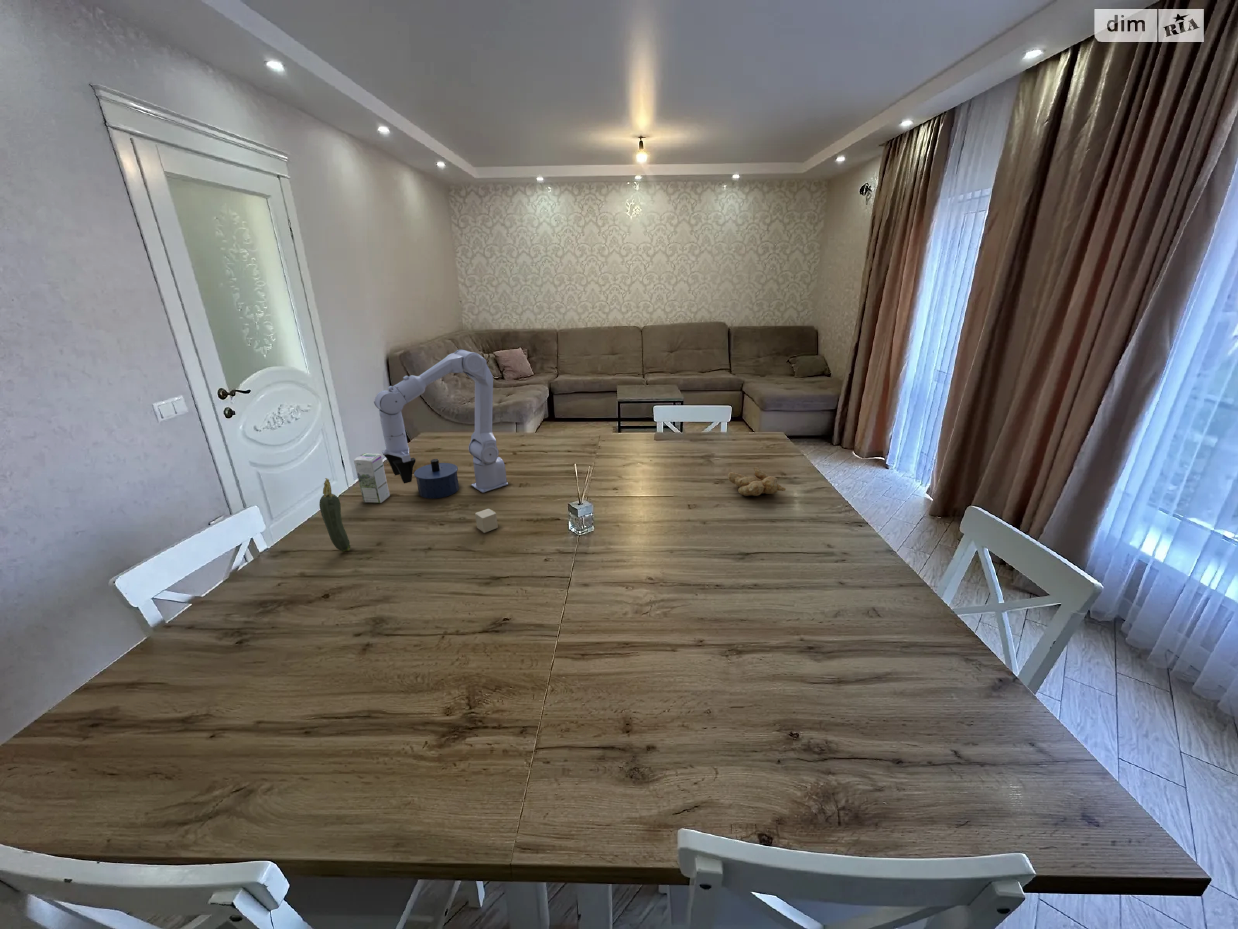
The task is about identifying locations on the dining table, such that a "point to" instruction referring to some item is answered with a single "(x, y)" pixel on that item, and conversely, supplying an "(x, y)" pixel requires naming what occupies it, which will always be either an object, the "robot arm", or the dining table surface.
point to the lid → (435, 470)
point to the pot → (438, 487)
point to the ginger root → (755, 483)
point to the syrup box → (372, 478)
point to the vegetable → (333, 518)
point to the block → (486, 520)
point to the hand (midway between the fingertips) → (403, 478)
